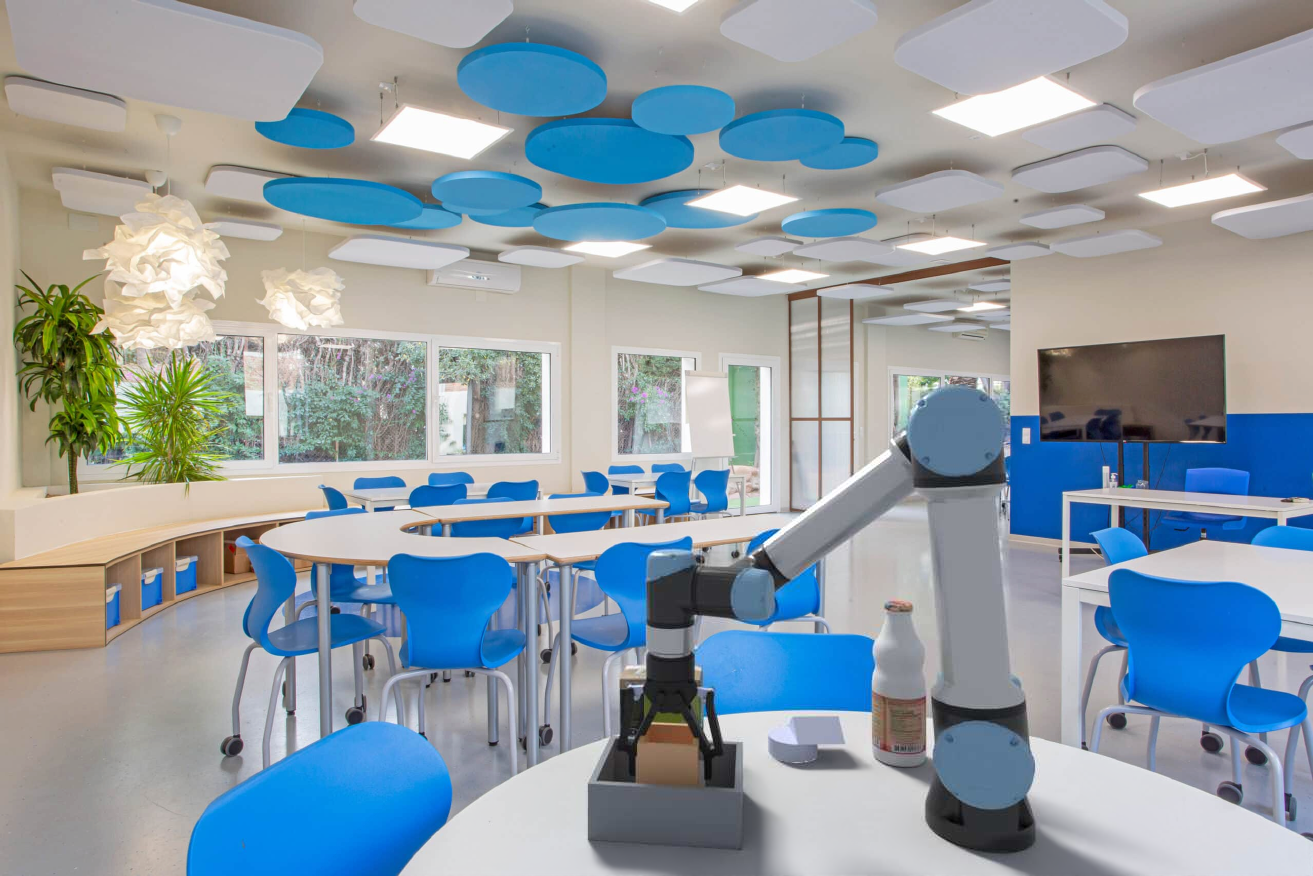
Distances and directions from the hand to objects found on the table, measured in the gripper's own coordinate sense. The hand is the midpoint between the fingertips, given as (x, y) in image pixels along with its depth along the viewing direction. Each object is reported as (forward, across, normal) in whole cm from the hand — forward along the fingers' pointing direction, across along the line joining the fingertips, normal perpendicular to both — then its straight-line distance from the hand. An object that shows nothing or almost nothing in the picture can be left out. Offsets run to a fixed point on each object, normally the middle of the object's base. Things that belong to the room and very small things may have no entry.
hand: (670, 797), depth 116 cm
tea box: (+3, +4, -24) cm, 24 cm away
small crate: (0, 0, 0) cm, 0 cm away
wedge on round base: (+3, -22, -26) cm, 34 cm away
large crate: (+2, 0, 0) cm, 2 cm away
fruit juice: (+3, -39, -26) cm, 47 cm away
